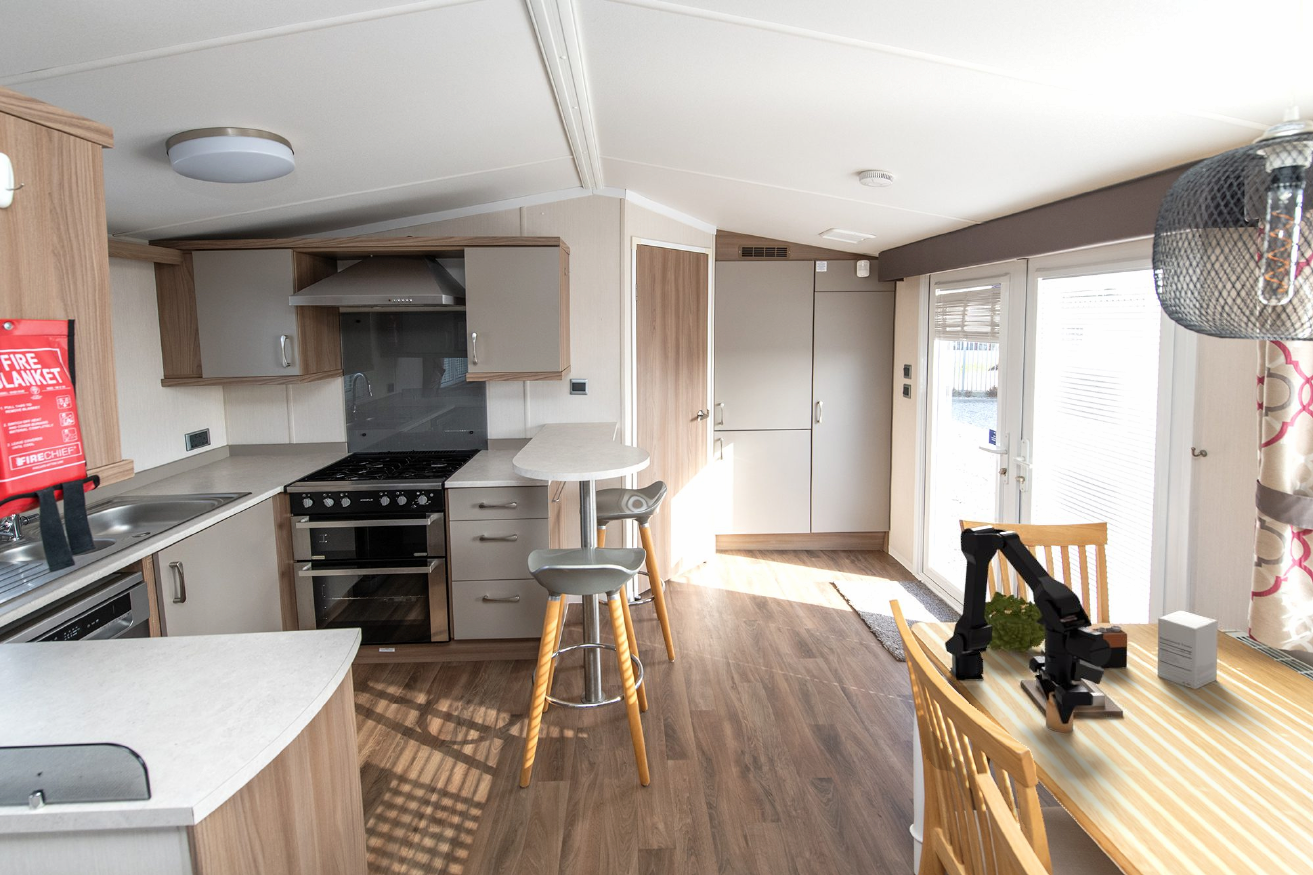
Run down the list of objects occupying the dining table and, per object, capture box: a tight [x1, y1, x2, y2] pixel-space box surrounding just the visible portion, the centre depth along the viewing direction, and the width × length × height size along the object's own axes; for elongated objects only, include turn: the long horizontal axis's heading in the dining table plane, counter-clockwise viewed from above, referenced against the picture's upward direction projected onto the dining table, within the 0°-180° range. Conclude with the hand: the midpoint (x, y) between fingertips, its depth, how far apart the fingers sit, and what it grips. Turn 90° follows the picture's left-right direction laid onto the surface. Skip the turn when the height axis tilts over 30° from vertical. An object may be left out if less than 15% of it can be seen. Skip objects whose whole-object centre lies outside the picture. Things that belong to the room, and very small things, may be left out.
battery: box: [1091, 625, 1128, 670], centre depth 194 cm, size 4×7×10 cm, turn 88°
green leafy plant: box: [985, 590, 1045, 654], centre depth 207 cm, size 18×16×16 cm
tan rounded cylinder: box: [1045, 692, 1074, 733], centre depth 167 cm, size 5×5×7 cm
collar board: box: [1020, 678, 1124, 718], centre depth 179 cm, size 16×16×4 cm
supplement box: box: [1157, 610, 1218, 690], centre depth 184 cm, size 9×9×15 cm
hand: (1059, 717), depth 167 cm, fingers closed on tan rounded cylinder, 5 cm apart
